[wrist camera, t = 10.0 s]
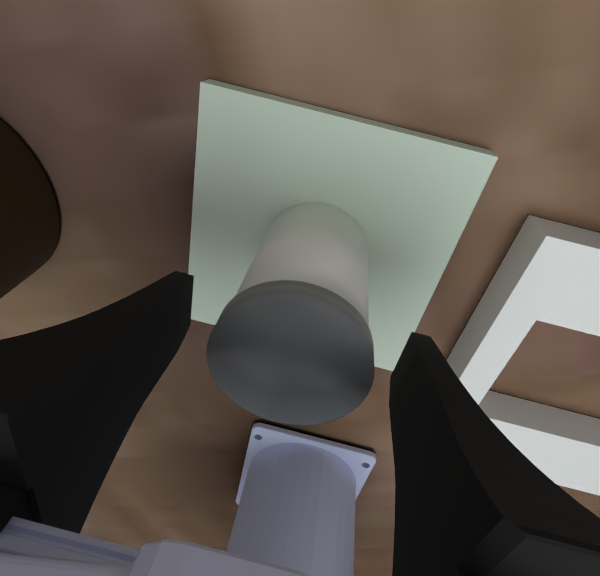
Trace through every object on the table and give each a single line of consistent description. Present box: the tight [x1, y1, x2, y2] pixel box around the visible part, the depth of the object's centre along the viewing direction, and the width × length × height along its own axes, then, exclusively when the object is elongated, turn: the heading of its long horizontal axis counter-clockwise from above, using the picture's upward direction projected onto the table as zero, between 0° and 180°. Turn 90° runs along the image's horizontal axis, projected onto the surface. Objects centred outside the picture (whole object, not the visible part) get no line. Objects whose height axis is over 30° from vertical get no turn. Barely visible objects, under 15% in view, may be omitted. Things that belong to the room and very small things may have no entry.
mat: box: [188, 79, 498, 371], centre depth 18 cm, size 11×11×1 cm
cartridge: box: [207, 202, 374, 425], centre depth 15 cm, size 5×5×7 cm
